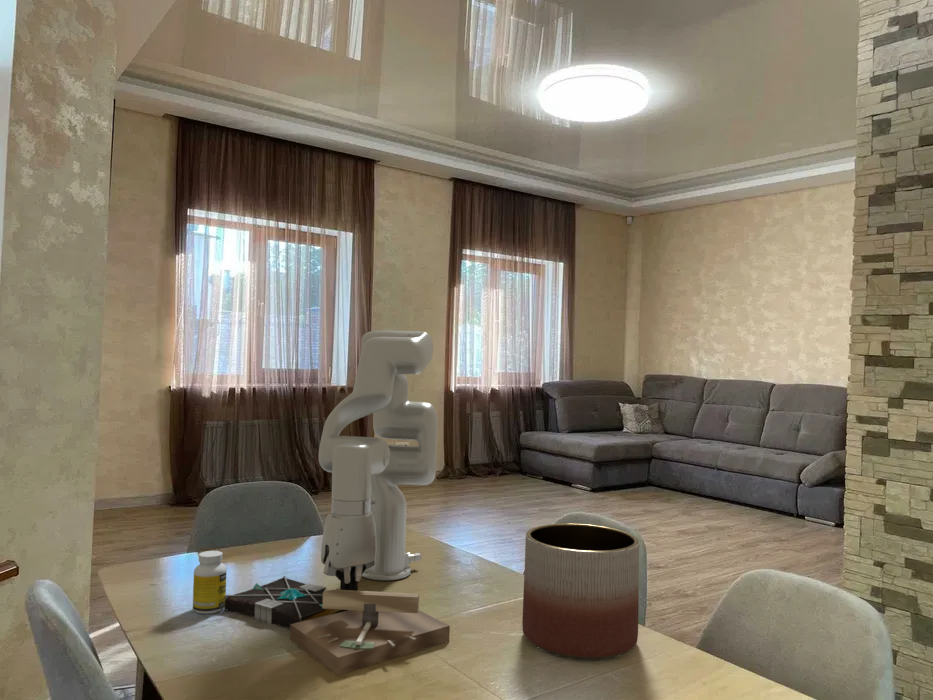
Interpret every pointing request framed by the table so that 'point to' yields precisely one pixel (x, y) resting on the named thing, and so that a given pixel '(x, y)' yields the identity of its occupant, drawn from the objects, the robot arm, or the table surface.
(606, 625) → the planter
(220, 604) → the pill bottle
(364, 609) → the wooden lever
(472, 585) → the table surface
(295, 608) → the book
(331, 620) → the dial board
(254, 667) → the table surface
